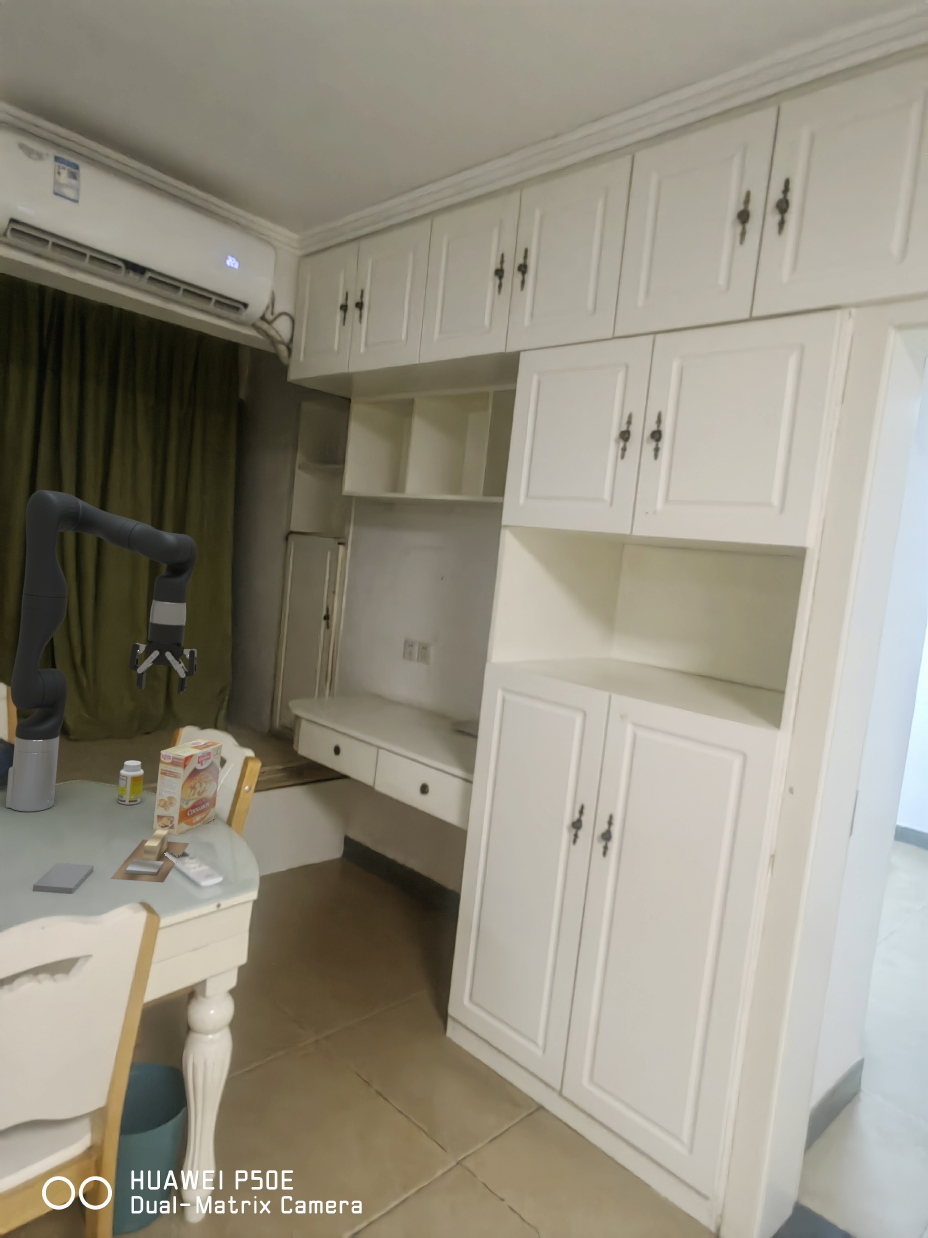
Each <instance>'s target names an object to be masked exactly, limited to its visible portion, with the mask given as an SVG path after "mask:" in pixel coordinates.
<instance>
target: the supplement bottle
mask: <svg viewBox="0 0 928 1238" xmlns="http://www.w3.org/2000/svg"><path fill="white" fill-rule="evenodd" d="M144 773H145V772H144V769H142V762H141V761H139V760H125V761H124V763H123V768H122V769H121V770H120V771H119V779H118V781H119V782H118V792H117V793H118V794H117V801H118V803H120V804H121V805H127V806H128V805H129V806H131V805H137V804H139V803H141V801H142V795H143V788H144V787H143V784H144Z"/></svg>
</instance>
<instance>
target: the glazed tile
mask: <svg viewBox="0 0 928 1238" xmlns="http://www.w3.org/2000/svg"><path fill="white" fill-rule="evenodd" d="M93 872H94V865H91V864H77V863H64V862H56V863H55V864H54V865H52V867H51V868H49V870H48V871H46V872H45V873H44V874H43V875H42V876H41V877H40V878H39V879H38V880H37V881H36V882H35V883H33V885H32V891H33V892H45V893H57V894H58V893H60V894H70V895H71V894H74V893H75V891H76V890H77V889H79V887H80V886H81V885H82V884H83V883H84V882H85V880H87V878H88V877H89V876H90V875H91V874H92V873H93Z"/></svg>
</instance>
